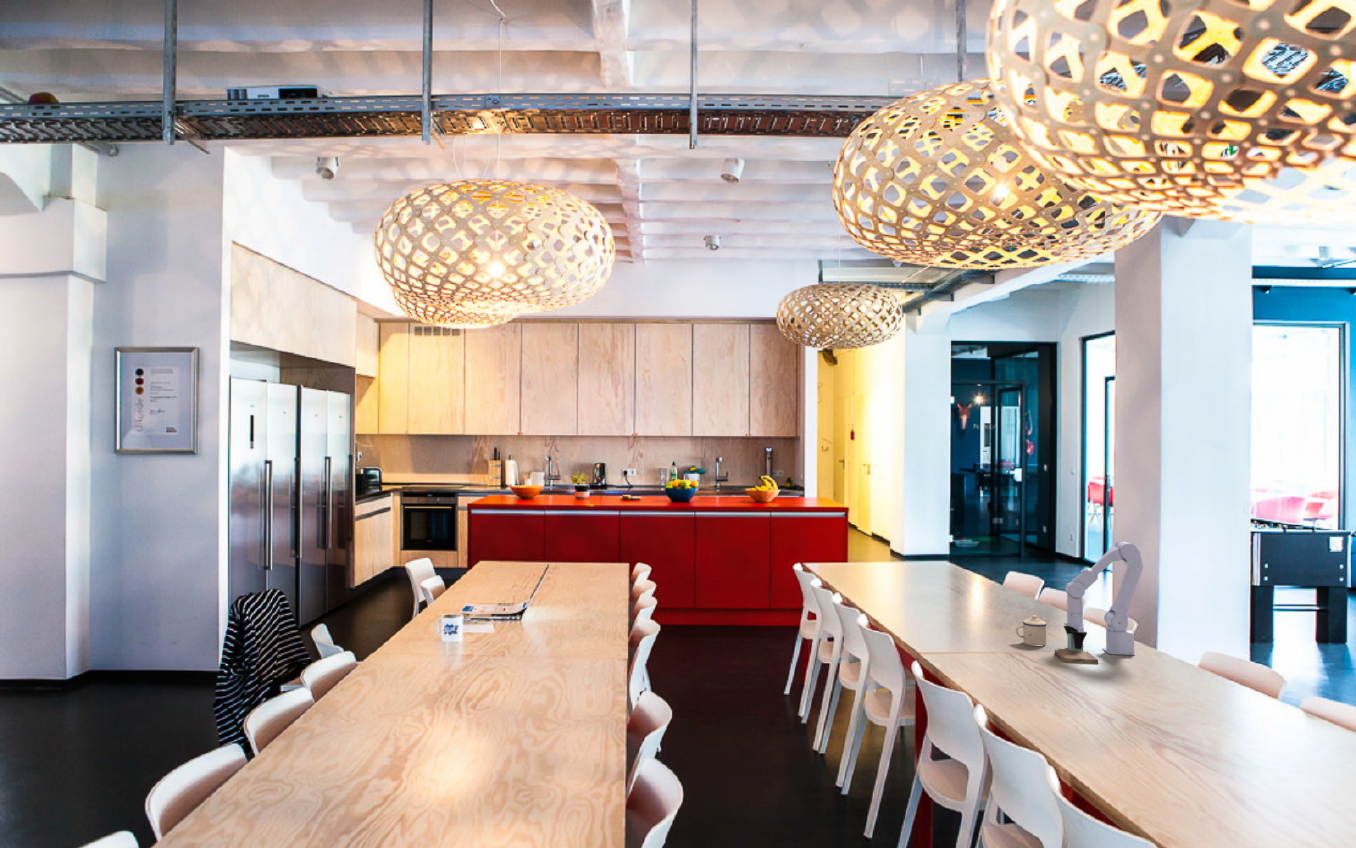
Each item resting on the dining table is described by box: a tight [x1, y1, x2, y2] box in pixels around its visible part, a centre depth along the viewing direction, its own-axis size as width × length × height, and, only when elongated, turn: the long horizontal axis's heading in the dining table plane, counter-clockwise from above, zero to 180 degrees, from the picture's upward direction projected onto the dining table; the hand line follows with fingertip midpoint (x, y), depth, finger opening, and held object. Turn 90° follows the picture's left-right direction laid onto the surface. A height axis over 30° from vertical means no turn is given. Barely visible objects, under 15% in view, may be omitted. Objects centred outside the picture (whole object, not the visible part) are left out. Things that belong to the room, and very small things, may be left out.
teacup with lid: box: [1015, 614, 1047, 646], centre depth 325 cm, size 12×9×12 cm
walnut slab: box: [1054, 649, 1099, 664], centre depth 302 cm, size 12×12×2 cm
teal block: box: [1066, 633, 1084, 651], centre depth 316 cm, size 4×4×6 cm
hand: (1075, 646), depth 316 cm, fingers open, 7 cm apart
